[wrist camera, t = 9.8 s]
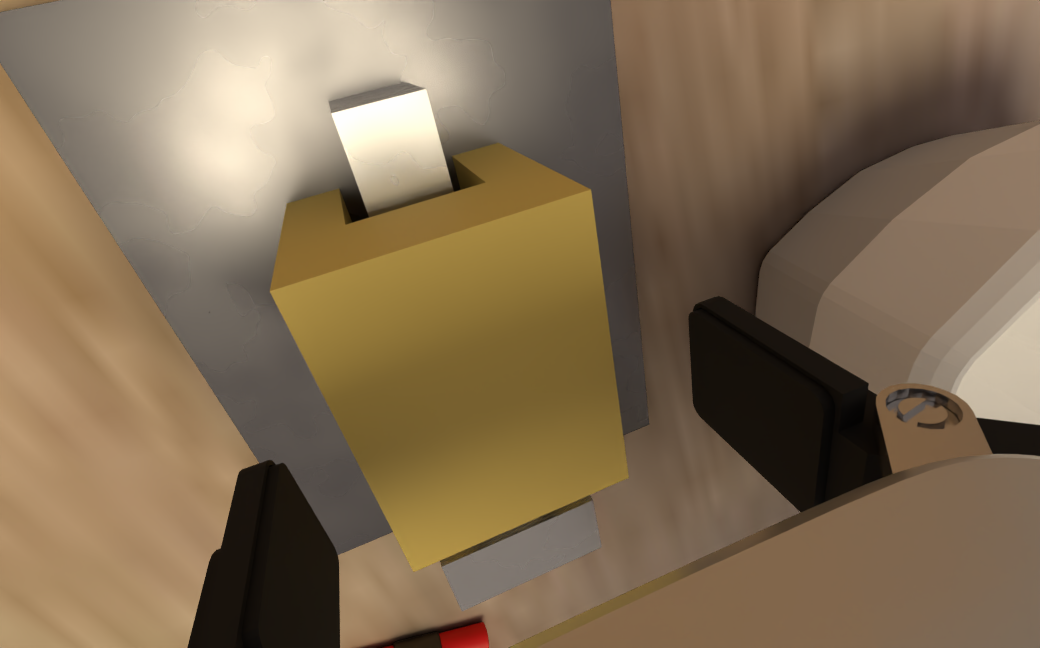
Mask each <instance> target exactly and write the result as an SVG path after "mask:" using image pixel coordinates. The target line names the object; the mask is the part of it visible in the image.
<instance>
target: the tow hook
mask: <svg viewBox="0 0 1040 648" xmlns="http://www.w3.org/2000/svg"><path fill="white" fill-rule="evenodd" d="M384 648H489V640H488V634H487V630H486V627H485V625H484V623H483V622H480V623H477V624H473V625H469V626H465V627H461V628H457V629H453V630H449V631H446V632H442V633H438V632H432V633H428V634H424V635H420V636H416V637H412V638H408V639H404V640H400V641H397V642H394V644H393V645H391V646H387V647H384Z"/></svg>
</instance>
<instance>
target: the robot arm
mask: <svg viewBox="0 0 1040 648" xmlns="http://www.w3.org/2000/svg"><path fill="white" fill-rule="evenodd" d="M689 337H690V356H691V374H692V393H693V404H694V408H695V410H696V412H697V413H698V415H699V416H700V417H701V418H702V419H703V420H704V421H705V422H706V423H707V424H708V425H709V426H710V427H711V428H713V429H714V430H715V431H716V432H717V433H718V434H719V435H720V436H721V437H722V438H723V439H724V440H725V441H726V442H727V443H728V444H729V445H730V446H731V447H733V448H734V449H735V450H736V451H737V452H738V453H739V454H740V455H741V456H742V457H743V458H744V459H745V460H746V461H747V462H748V463H749V464H750V465H751V466H753V467H754V468H755V469H756V470H757V471H758V472H759V473H760V474H761V475H762V476H763V477H764V478H765V479H766V480H767V481H768V482H769V483H770V484H771V485H773V486H774V487H775V488H776V489H777V490H778V491H779V492H780V493H781V494H782V495H783V496H784V497H785V498H786V499H787V500H788V501H789V502H790V503H791V504H793V505H794V506H795V507H796V508H797V509H798V510H799V511H800V512H801V513H799V514H797V515H795V516H792V517H790V518H788V519H786V520H784V521H781V522H779V523H777V524H775V525H773V526H770V527H768V528H766V529H764V530H762V531H759V532H757V533H755V534H753V535H751V536H749V537H746V538H744V539H742V540H740V541H738V542H735V543H733V544H731V545H729V546H727V547H724V548H722V549H720V550H718V551H716V552H713V553H711V554H709V555H707V556H705V557H702V558H700V559H698V560H696V561H694V562H692V563H689V564H687V565H685V566H683V567H681V568H679V569H677V570H674V571H672V572H670V573H668V574H666V575H664V576H661V577H659V578H657V579H655V580H653V581H651V582H648V583H646V584H644V585H642V586H640V587H638V588H635V589H633V590H631V591H629V592H627V593H625V594H622V595H620V596H618V597H616V598H614V599H612V600H610V601H607V602H605V603H603V604H601V605H599V606H597V607H594V608H592V609H590V610H588V611H586V612H584V613H582V614H579V615H577V616H575V617H573V618H571V619H569V620H566V621H564V622H562V623H560V624H558V625H556V626H554V627H551V628H549V629H547V630H545V631H543V632H541V633H539V634H537V635H534V636H532V637H530V638H528V639H526V640H524V641H522V642H520V643H517V644H515V645H513V646H511V647H509V648H1040V425H1035V424H1027V423H1018V422H1010V421H1002V420H993V419H985V418H976V416H975V414H974V412H973V410H972V409H971V408H970V406H969V405H968V404H967V403H966V402H965V401H964V400H962V399H961V398H959V397H958V396H957V395H955V394H952V393H950V392H948V391H946V390H944V389H940V388H937V387H933V386H930V385H923V384H916V383H907V384H897V385H892V386H889V387H887V388H885V389H883V390H881V391H880V393H879V394H878V395H877V394H875V393H873V392H872V391H870V390H868V386H869V383H868V382H866V381H864V380H862V379H861V378H859V377H857V376H856V375H854V374H852V373H851V372H849V371H847V370H845V369H844V368H842V367H840V366H839V365H837V364H835V363H834V362H832V361H830V360H828V359H827V358H825V357H823V356H822V355H820V354H818V353H817V352H815V351H813V350H811V349H810V348H808V347H806V346H805V345H803V344H801V343H800V342H798V341H796V340H794V339H793V338H791V337H789V336H788V335H786V334H784V333H783V332H781V331H779V330H777V329H776V328H774V327H772V326H771V325H769V324H767V323H766V322H764V321H762V320H760V319H759V318H757V317H755V316H754V315H752V314H750V313H749V312H747V311H745V310H743V309H742V308H740V307H738V306H737V305H735V304H733V303H732V302H730V301H728V300H726V299H725V298H723V297H720V296H717V297H714V298H711V299H709V300H706V301H703V302H700V303H698V304H696V305H695V306H694V309H693V312H691V313H690V314H689ZM188 648H340V609H339V560H338V555H337V552H336V549H335V547H334V545H333V543H332V542H331V540H330V538H329V536H328V535H327V533H326V531H325V530H324V528H323V526H322V525H321V523H320V521H319V520H318V518H317V516H316V515H315V513H314V511H313V510H312V508H311V506H310V504H309V503H308V501H307V499H306V498H305V496H304V494H303V493H302V491H301V489H300V488H299V486H298V484H297V483H296V481H295V479H294V477H293V476H292V474H291V472H290V471H289V469H288V467H287V466H286V465H285V464H284V463H280V464H277V465H276V464H275V463H274V462H273V461H272V460H267V461H264V462H262V463H259V464H256V465H253V466H251V467H248V468H245V469H242V470H241V471H240V472H239V474H238V478H237V482H236V486H235V491H234V495H233V499H232V503H231V508H230V512H229V516H228V520H227V525H226V529H225V533H224V537H223V542H222V546H221V549H218V550H216V551H215V552H214V553H213V554H212V556H211V559H210V561H209V565H208V569H207V573H206V577H205V581H204V585H203V588H202V592H201V596H200V600H199V604H198V608H197V612H196V616H195V620H194V624H193V628H192V632H191V636H190V640H189V644H188Z"/></svg>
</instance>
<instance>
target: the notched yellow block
mask: <svg viewBox="0 0 1040 648" xmlns="http://www.w3.org/2000/svg"><path fill="white" fill-rule="evenodd" d="M452 159H453V162H454V166H455V170H456V174H457V177H458V181H459V185H460V189H461V190H459V191H456V192H452V193H449V194H446V195H443V196H439V197H436V198H433V199H429V200H426V201H423V202H419V203H416V204H413V205H409V206H406V207H403V208H399V209H396V210H393V211H389V212H386V213H383V214H379V215H376V216H373V217H370V218H366V219H363V220H360V221H356V222H353V223H352V220H351V218H350V215H349V213H348V210H347V208H346V205H345V202H344V200H343V197H342V195H341V192H340V189H336V190H332V191H329V192H325V193H322V194H318V195H315V196H311V197H308V198H304V199H301V200H297V201H294V202H290V203H287V205H286V210H285V215H284V220H283V225H282V230H281V236H280V241H279V246H278V251H277V256H276V261H275V266H274V272H273V277H272V282H271V287H270V293H271V295H272V297H273V299H274V301H275V303H276V305H277V307H278V309H279V311H280V313H281V314H282V316H283V318H284V320H285V322H286V324H287V326H288V328H289V330H290V332H291V334H292V336H293V338H294V340H295V342H296V344H297V346H298V348H299V350H300V352H301V353H302V355H303V357H304V359H305V361H306V363H307V365H308V367H309V369H310V371H311V373H312V375H313V377H314V379H315V381H316V383H317V385H318V387H319V389H320V391H321V392H322V394H323V396H324V398H325V400H326V402H327V404H328V406H329V408H330V410H331V412H332V414H333V416H334V418H335V420H336V422H337V424H338V426H339V428H340V430H341V431H342V433H343V435H344V437H345V439H346V441H347V443H348V445H349V447H350V449H351V451H352V453H353V455H354V457H355V459H356V461H357V463H358V465H359V467H360V469H361V470H362V472H363V474H364V476H365V478H366V480H367V482H368V484H369V486H370V488H371V490H372V492H373V494H374V496H375V498H376V500H377V502H378V504H379V506H380V508H381V509H382V511H383V513H384V515H385V517H386V519H387V521H388V523H389V525H390V527H391V529H392V531H393V533H394V535H395V537H396V539H397V541H398V543H399V545H400V546H401V548H402V550H403V552H404V554H405V556H406V558H407V560H408V562H409V564H410V566H411V568H412V570H413V572H415V571H417V570H420V569H422V568H424V567H427V566H429V565H431V564H433V563H436V562H438V561H440V560H443V559H445V558H447V557H449V556H452V555H454V554H456V553H458V552H461V551H463V550H465V549H468V548H470V547H472V546H474V545H477V544H479V543H481V542H484V541H486V540H488V539H490V538H493V537H495V536H497V535H499V534H502V533H504V532H506V531H509V530H511V529H513V528H515V527H518V526H520V525H522V524H525V523H527V522H529V521H531V520H534V519H536V518H538V517H540V516H543V515H545V514H547V513H550V512H552V511H554V510H556V509H559V508H561V507H563V506H566V505H568V504H570V503H572V502H575V501H577V500H579V499H582V498H584V497H586V496H588V495H591V494H593V493H595V492H597V491H600V490H602V489H604V488H607V487H609V486H611V485H613V484H616V483H618V482H620V481H623V480H625V479H627V478H629V476H628V468H627V461H626V453H625V445H624V438H623V430H622V422H621V415H620V407H619V399H618V392H617V384H616V376H615V369H614V361H613V353H612V346H611V338H610V330H609V323H608V315H607V307H606V300H605V292H604V284H603V277H602V269H601V262H600V254H599V246H598V239H597V231H596V223H595V216H594V208H593V200H592V193H591V189H589V188H587V187H585V186H583V185H581V184H579V183H577V182H575V181H573V180H571V179H569V178H567V177H565V176H563V175H561V174H559V173H557V172H555V171H553V170H551V169H549V168H547V167H546V166H544V165H542V164H540V163H538V162H536V161H534V160H532V159H530V158H528V157H526V156H524V155H522V154H520V153H518V152H516V151H514V150H512V149H510V148H508V147H506V146H504V145H502V144H500V143H496V144H492V145H489V146H485V147H482V148H478V149H475V150H471V151H468V152H464V153H461V154H457V155H454V156H452Z"/></svg>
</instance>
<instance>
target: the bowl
mask: <svg viewBox="0 0 1040 648" xmlns="http://www.w3.org/2000/svg"><path fill="white" fill-rule="evenodd" d="M756 317H757V318H759V319H760V320H762V321H764V322H766V323H767V324H769V325H771V326H772V327H774V328H776V329H777V330H779V331H781V332H783V333H784V334H786V335H788V336H789V337H791V338H793V339H794V340H796V341H798V342H800V343H801V344H803V345H805V346H806V347H808V348H810V349H811V350H813V351H815V352H817V353H818V354H820V355H822V356H823V357H825V358H827V359H828V360H830V361H832V362H834V363H835V364H837V365H839V366H840V367H842V368H844V369H845V370H847V371H849V372H851V373H852V374H854V375H856V376H857V377H859V378H861V379H862V380H864V381H866V382H868V383H869V386H868V390H870V391H872V392H873V393H875V394H877V395H878V394H879V393H880V391H881V390H883V389H885V388H887V387H889V386H892V385H897V384H907V383H916V384H923V385H930V386H933V387H937V388H940V389H944V390H946V391H948V392H950V393H952V394H955V395H957V396H958V397H959V398H961V399H962V400H964V401H965V402H966V403H967V404H968V405H969V406H970V408H971V409H972V410H973V412H974V414H975V416H976V418H985V419H993V420H1002V421H1010V422H1018V423H1027V424H1035V425H1040V120H1038V121H1033V122H1027V123H1021V124H1015V125H1010V126H1004V127H998V128H992V129H987V130H981V131H975V132H969V133H964V134H958V135H952V136H948V137H944V138H941V139H937V140H934V141H930V142H927V143H923V144H920V145H916V146H913V147H910V148H908V149H906V150H904V151H902V152H900V153H898V154H895V155H893V156H891V157H889V158H887V159H885V160H883V161H881V162H879V163H876V164H874V165H872V166H870V167H868V168H866V169H864V170H862V171H860V172H858V173H857V174H856V175H855V176H853V177H852V178H851V179H850V180H848V181H847V182H846V183H845V184H843V185H842V186H841V187H840V188H838V189H837V190H836V191H835V192H833V193H832V194H831V195H830V196H828V197H827V198H826V199H824V200H823V201H822V202H821V203H819V204H818V205H817V206H816V207H814V208H813V209H812V210H811V211H809V212H808V213H807V214H806V215H805V216H804V217H803V218H802V219H801V220H800V221H799V222H798V223H797V224H796V225H795V226H794V227H793V228H792V229H791V230H790V231H789V232H788V233H787V234H786V235H785V236H784V237H783V238H782V239H781V240H780V241H779V242H778V243H777V244H776V245H775V246H774V247H773V248H772V249H771V250H770V251H769V252H768V254H767V255H766V257H765V259H764V260H763V262H762V265H761V269H760V272H759V282H758V292H757V303H756Z"/></svg>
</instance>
